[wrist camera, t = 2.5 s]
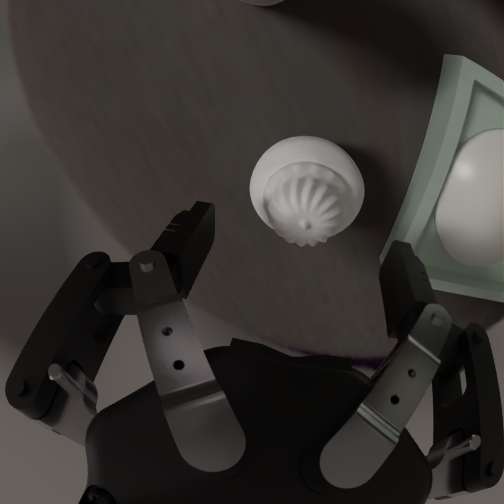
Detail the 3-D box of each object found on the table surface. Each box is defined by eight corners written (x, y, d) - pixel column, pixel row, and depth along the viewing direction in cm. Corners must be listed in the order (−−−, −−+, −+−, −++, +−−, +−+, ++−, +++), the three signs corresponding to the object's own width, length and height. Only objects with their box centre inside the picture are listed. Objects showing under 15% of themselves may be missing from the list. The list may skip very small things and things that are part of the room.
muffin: (354, 120, 14) (379, 161, 9) (355, 207, 18) (368, 279, 13) (254, 125, 16) (219, 168, 11) (268, 209, 20) (247, 278, 14)
